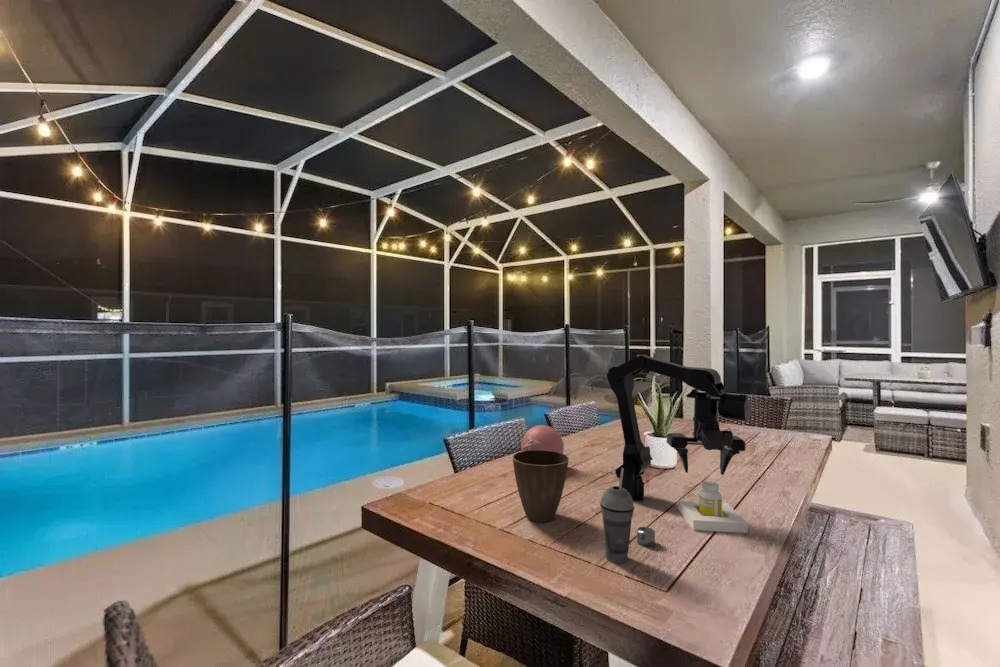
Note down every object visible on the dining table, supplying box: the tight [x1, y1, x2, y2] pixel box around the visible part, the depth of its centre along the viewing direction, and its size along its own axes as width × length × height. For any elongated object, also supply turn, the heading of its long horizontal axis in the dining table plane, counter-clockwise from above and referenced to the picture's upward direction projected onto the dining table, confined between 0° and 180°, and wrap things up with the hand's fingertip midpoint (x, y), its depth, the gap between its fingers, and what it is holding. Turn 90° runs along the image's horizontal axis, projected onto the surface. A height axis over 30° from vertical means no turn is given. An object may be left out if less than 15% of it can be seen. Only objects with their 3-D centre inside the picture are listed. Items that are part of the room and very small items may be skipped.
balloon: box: [520, 424, 565, 454], centre depth 161 cm, size 15×20×15 cm
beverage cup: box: [600, 468, 635, 564], centre depth 98 cm, size 7×7×20 cm
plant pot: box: [512, 450, 569, 523], centre depth 120 cm, size 15×15×16 cm
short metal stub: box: [636, 526, 656, 548], centre depth 105 cm, size 4×4×3 cm
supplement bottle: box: [698, 481, 723, 517], centre depth 118 cm, size 5×5×10 cm
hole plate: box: [677, 500, 749, 534], centre depth 118 cm, size 13×13×2 cm
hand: (704, 473), depth 120 cm, fingers open, 9 cm apart
